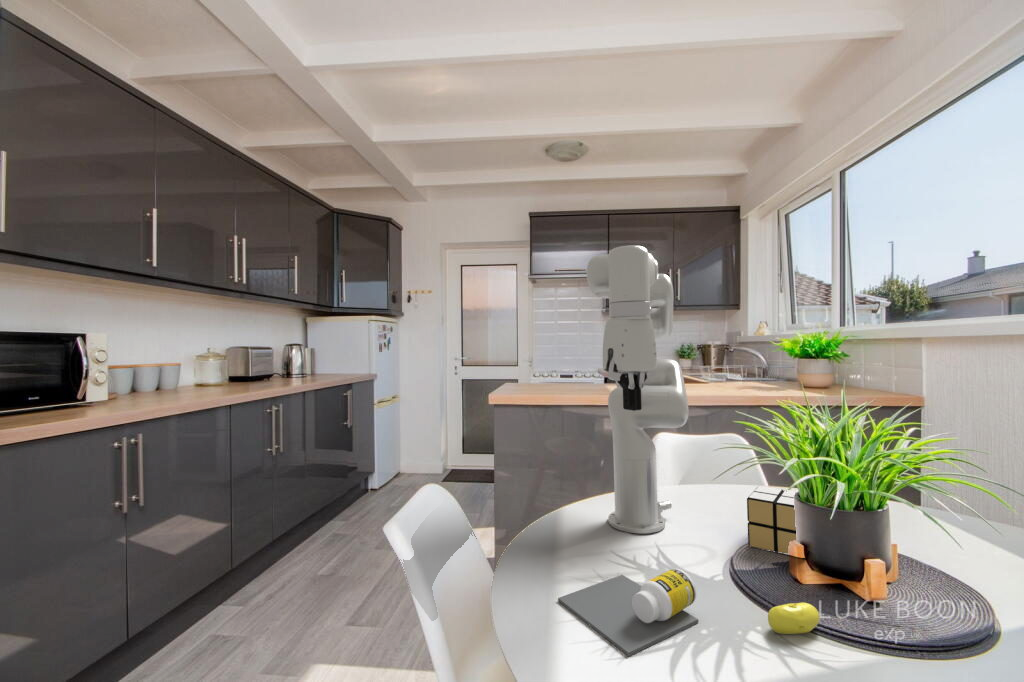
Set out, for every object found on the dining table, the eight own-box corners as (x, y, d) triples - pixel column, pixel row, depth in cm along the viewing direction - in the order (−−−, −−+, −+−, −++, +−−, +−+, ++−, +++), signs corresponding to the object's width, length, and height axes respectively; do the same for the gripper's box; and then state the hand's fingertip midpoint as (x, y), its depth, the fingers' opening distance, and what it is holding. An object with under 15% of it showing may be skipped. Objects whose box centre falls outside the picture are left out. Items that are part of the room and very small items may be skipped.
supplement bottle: (696, 573, 72) (657, 596, 66) (699, 609, 72) (660, 636, 66) (665, 562, 76) (626, 583, 70) (668, 596, 76) (629, 620, 70)
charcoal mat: (622, 577, 83) (622, 574, 83) (698, 622, 69) (698, 619, 69) (558, 601, 76) (558, 597, 76) (628, 656, 62) (628, 652, 62)
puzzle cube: (759, 531, 102) (757, 485, 102) (813, 542, 96) (812, 493, 96) (747, 547, 94) (746, 497, 94) (806, 560, 88) (804, 507, 88)
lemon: (759, 625, 69) (758, 598, 69) (808, 619, 70) (807, 592, 70) (780, 643, 64) (779, 614, 64) (831, 636, 66) (830, 608, 66)
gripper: (643, 314, 96) (645, 404, 96) (585, 313, 88) (588, 411, 88) (672, 311, 89) (675, 408, 89) (613, 310, 82) (616, 416, 82)
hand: (632, 409), depth 89 cm, fingers closed
